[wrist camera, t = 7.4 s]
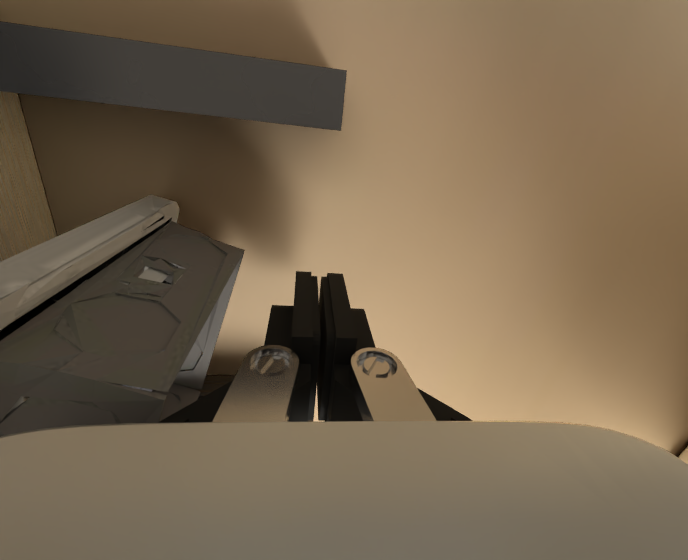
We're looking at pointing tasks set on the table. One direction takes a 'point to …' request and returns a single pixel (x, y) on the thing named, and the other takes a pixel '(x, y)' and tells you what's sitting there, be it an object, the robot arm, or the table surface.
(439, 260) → the table surface
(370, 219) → the table surface
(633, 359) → the table surface
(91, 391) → the electrical switch
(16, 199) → the rail mount
